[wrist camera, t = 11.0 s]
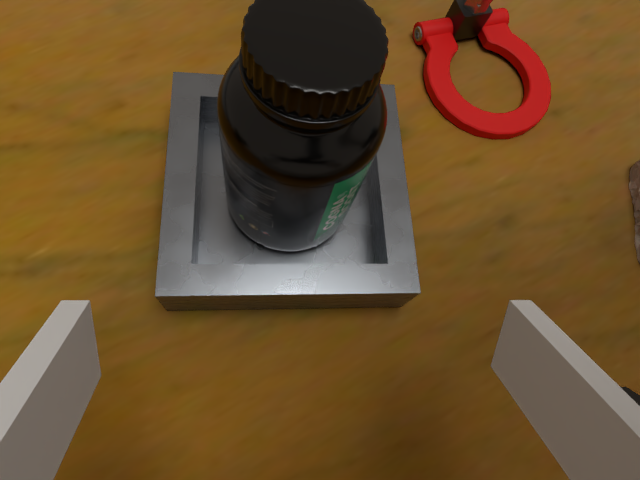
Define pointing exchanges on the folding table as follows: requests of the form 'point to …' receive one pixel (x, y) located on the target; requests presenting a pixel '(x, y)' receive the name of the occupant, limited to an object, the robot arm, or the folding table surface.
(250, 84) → the supplement bottle
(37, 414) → the robot arm
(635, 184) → the brick
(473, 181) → the folding table surface
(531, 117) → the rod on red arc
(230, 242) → the keeper tray
